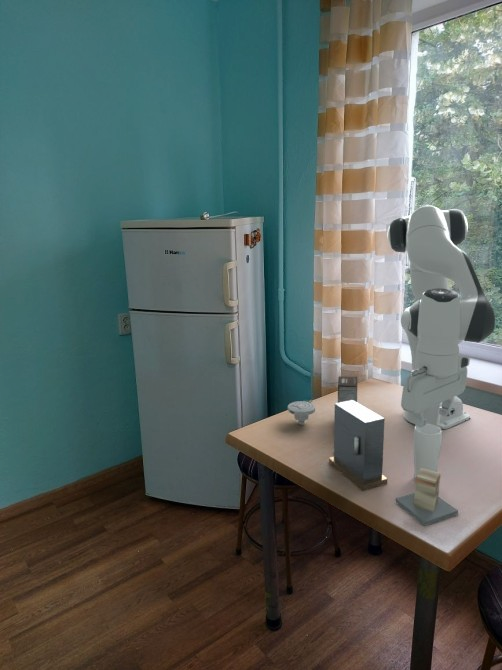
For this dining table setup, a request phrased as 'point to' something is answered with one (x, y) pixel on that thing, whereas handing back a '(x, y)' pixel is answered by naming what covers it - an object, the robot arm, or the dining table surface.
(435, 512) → the mat
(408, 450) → the dining table surface
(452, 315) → the robot arm
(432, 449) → the drinking glass
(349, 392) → the coffee box
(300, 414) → the showerhead
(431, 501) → the block
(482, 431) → the dining table surface
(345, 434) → the cabinet
